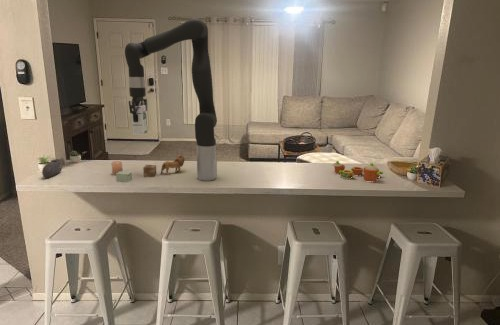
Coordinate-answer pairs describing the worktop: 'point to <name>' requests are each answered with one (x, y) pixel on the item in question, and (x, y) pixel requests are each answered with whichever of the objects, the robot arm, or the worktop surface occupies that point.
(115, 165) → the orange-brown rounded piece
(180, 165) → the lion figurine
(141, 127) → the syrup box
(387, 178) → the worktop surface
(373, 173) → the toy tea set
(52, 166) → the perforated stone tool
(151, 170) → the walnut block
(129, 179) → the sage painted block
